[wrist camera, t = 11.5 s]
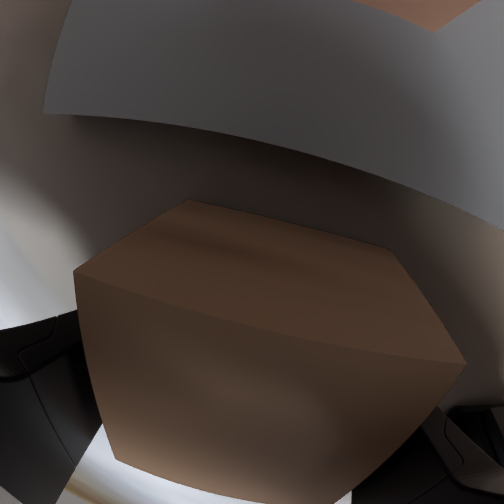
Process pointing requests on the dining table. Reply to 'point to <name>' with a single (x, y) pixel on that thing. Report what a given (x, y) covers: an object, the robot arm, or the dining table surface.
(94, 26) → the base board
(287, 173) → the dining table surface
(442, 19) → the terracotta brick
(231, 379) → the walnut brick
